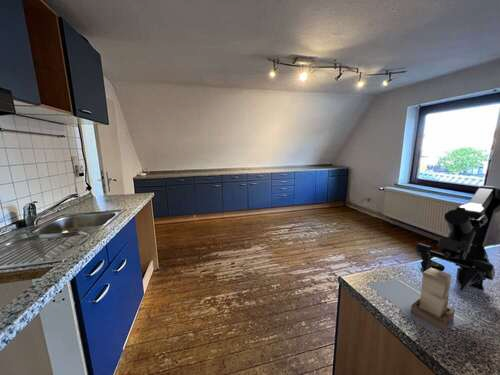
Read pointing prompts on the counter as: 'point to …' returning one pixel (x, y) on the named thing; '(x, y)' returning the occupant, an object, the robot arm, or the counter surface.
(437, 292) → the beech column
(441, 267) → the tape measure
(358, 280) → the counter surface
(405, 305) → the board
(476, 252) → the robot arm
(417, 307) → the walnut block
